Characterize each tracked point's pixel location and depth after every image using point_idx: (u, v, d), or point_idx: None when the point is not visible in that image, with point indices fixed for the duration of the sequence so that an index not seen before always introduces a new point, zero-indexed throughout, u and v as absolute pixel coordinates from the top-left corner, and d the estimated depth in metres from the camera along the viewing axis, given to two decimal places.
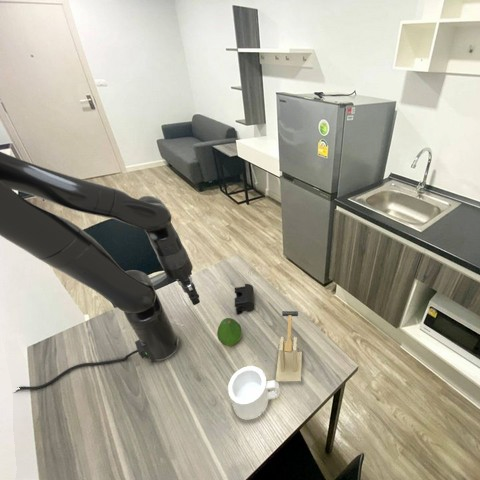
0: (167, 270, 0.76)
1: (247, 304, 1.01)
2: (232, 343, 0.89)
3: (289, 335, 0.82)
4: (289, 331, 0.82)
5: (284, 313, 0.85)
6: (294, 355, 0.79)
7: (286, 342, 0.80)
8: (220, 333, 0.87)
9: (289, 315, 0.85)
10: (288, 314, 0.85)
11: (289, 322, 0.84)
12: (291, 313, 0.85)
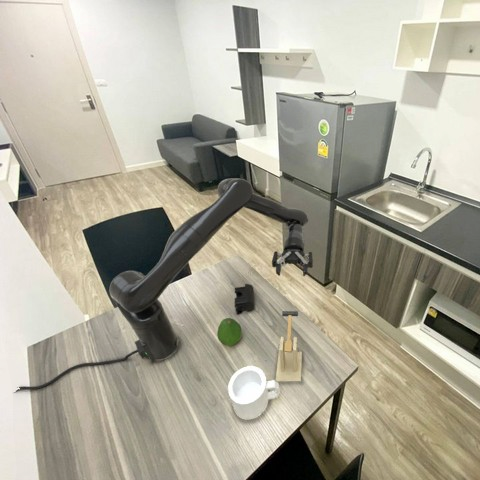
0: (299, 239, 0.99)
1: (247, 304, 1.01)
2: (232, 343, 0.89)
3: (289, 335, 0.82)
4: (289, 331, 0.82)
5: (284, 313, 0.85)
6: (294, 355, 0.79)
7: (286, 342, 0.80)
8: (220, 333, 0.87)
9: (289, 315, 0.85)
10: (288, 314, 0.85)
11: (289, 322, 0.84)
12: (291, 313, 0.85)
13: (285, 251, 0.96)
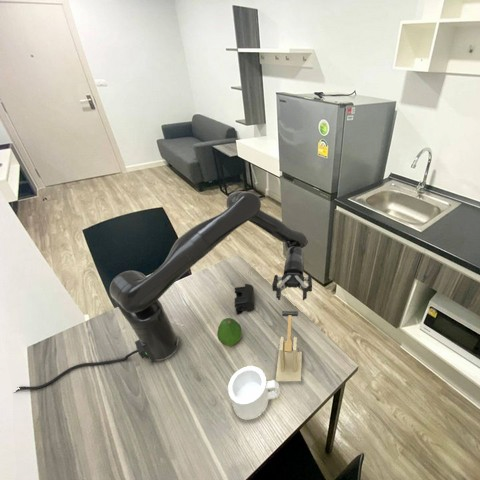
0: (299, 262, 1.02)
1: (247, 304, 1.01)
2: (232, 343, 0.89)
3: (289, 335, 0.82)
4: (289, 331, 0.82)
5: (284, 313, 0.85)
6: (294, 355, 0.79)
7: (286, 342, 0.80)
8: (220, 333, 0.87)
9: (289, 315, 0.85)
10: (288, 314, 0.85)
11: (289, 322, 0.84)
12: (291, 313, 0.85)
13: (285, 275, 0.99)
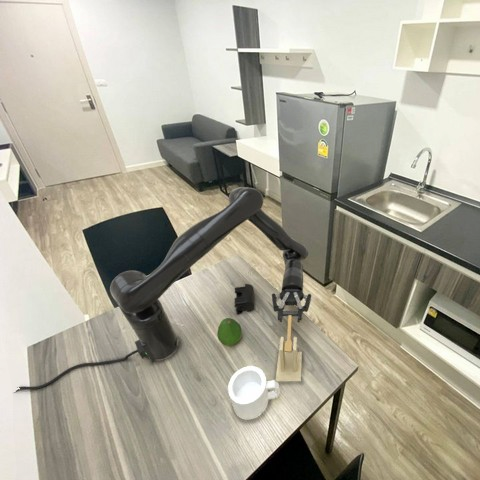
0: (298, 277, 0.95)
1: (247, 304, 1.01)
2: (232, 343, 0.89)
3: (289, 335, 0.82)
4: (289, 331, 0.82)
5: (284, 313, 0.85)
6: (294, 355, 0.79)
7: (286, 342, 0.80)
8: (220, 333, 0.87)
9: (289, 315, 0.85)
10: (288, 314, 0.85)
11: (289, 322, 0.84)
12: (291, 313, 0.85)
13: (283, 291, 0.92)
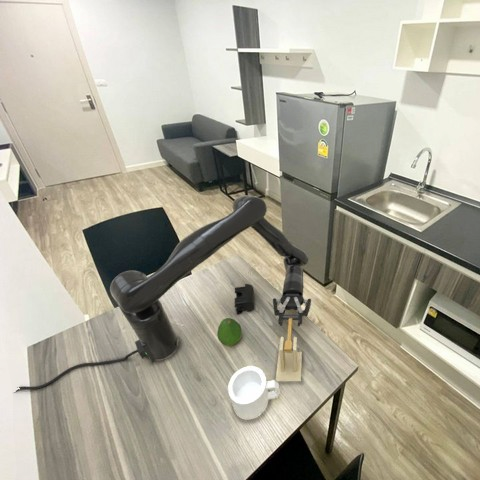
0: (299, 282, 0.98)
1: (247, 304, 1.01)
2: (232, 343, 0.89)
3: (289, 336, 0.82)
4: (289, 332, 0.83)
5: (285, 316, 0.87)
6: (294, 355, 0.79)
7: (286, 341, 0.80)
8: (220, 333, 0.87)
9: (289, 318, 0.87)
10: (288, 317, 0.87)
11: (289, 324, 0.85)
12: (291, 316, 0.87)
13: (284, 296, 0.94)
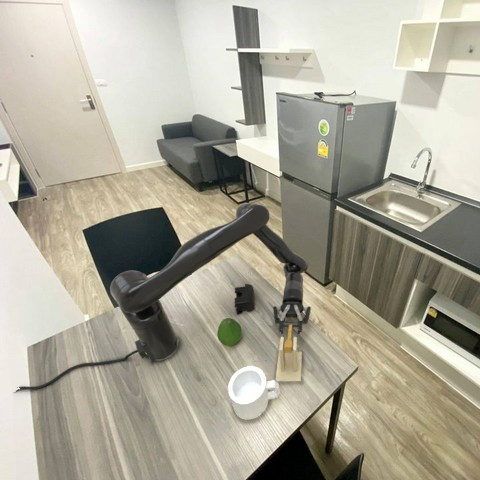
0: (298, 290, 0.99)
1: (247, 304, 1.01)
2: (232, 343, 0.89)
3: (289, 337, 0.83)
4: (289, 335, 0.84)
5: (285, 323, 0.89)
6: (294, 355, 0.79)
7: (286, 341, 0.81)
8: (220, 333, 0.87)
9: (290, 324, 0.89)
10: (289, 323, 0.89)
11: (290, 329, 0.87)
12: (292, 323, 0.89)
13: (284, 304, 0.96)
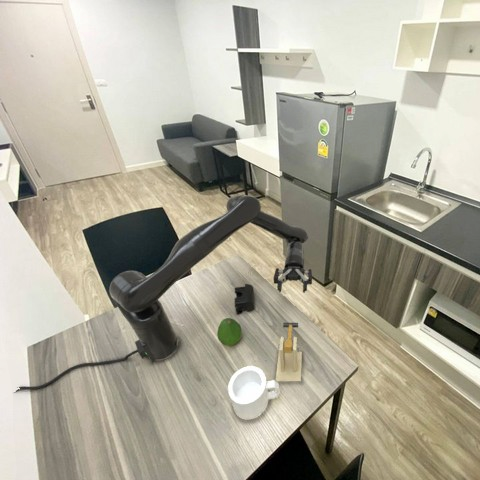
0: (300, 256, 1.05)
1: (247, 304, 1.01)
2: (232, 343, 0.89)
3: (289, 338, 0.83)
4: (289, 335, 0.84)
5: (285, 323, 0.89)
6: (294, 355, 0.79)
7: (286, 341, 0.81)
8: (220, 333, 0.87)
9: (290, 325, 0.89)
10: (289, 324, 0.89)
11: (290, 329, 0.87)
12: (292, 323, 0.89)
13: (286, 268, 1.01)
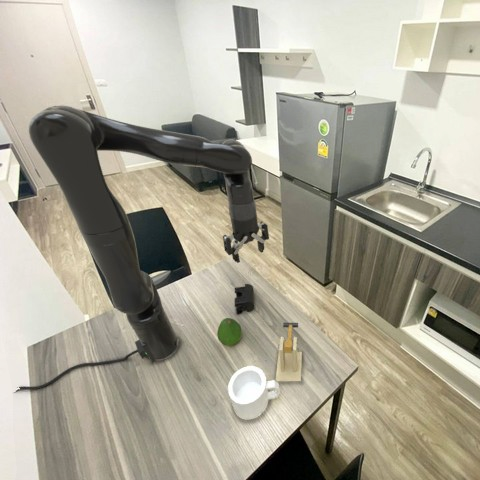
0: (255, 216, 0.77)
1: (247, 304, 1.01)
2: (232, 343, 0.89)
3: (289, 338, 0.83)
4: (289, 335, 0.84)
5: (285, 323, 0.89)
6: (294, 355, 0.79)
7: (286, 341, 0.81)
8: (220, 333, 0.87)
9: (290, 325, 0.89)
10: (289, 324, 0.89)
11: (290, 329, 0.87)
12: (292, 323, 0.89)
13: (238, 234, 0.78)
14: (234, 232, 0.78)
